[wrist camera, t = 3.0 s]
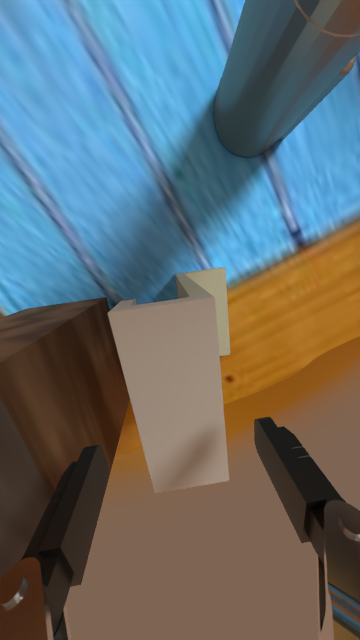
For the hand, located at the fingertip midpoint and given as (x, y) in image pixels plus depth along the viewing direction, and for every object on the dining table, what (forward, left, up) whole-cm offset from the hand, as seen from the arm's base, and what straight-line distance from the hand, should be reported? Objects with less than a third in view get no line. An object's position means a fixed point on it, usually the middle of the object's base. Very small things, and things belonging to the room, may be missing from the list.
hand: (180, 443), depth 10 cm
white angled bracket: (-3, 0, -22) cm, 22 cm away
